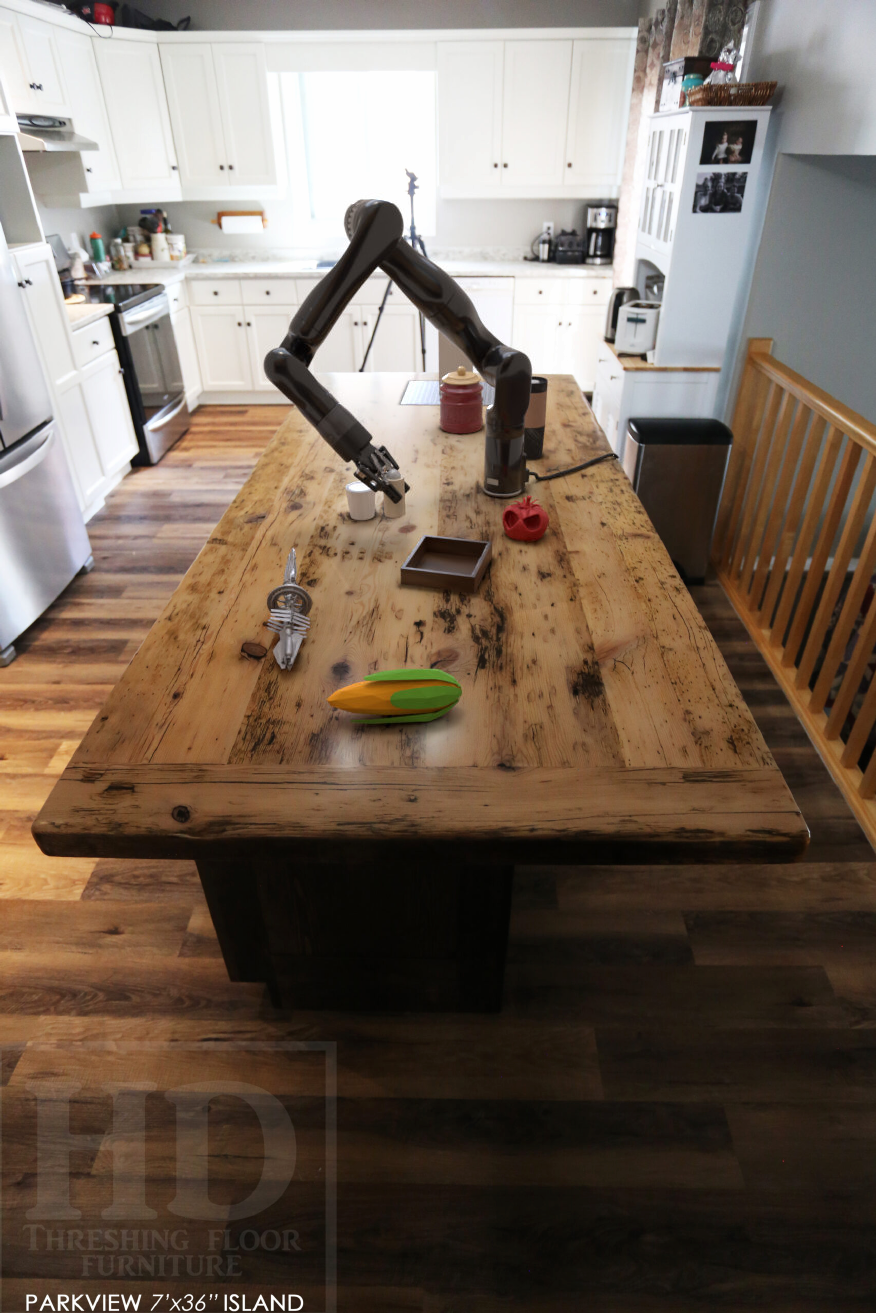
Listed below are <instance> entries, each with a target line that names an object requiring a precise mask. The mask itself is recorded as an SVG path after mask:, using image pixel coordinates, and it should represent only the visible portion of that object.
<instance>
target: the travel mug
mask: <svg viewBox="0 0 876 1313" xmlns="http://www.w3.org/2000/svg"><path fill="white" fill-rule="evenodd" d="M548 383H549V382H548V378H546V377H543V376H537V375H536V376H533V375H532V384H531V393H530V403H529V408H528V410H527V413H526V415H525V429H524V449H523V452H524V453H526V455H527V457H526V461H527V460H529V461H530V460H532V461H533V460H538V459H540V458H542V457H543V451H544V442H545V431H546V430H545V429H546V417H547V416H546V415H547V400H548Z"/></svg>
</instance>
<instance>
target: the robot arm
mask: <svg viewBox="0 0 876 1313" xmlns="http://www.w3.org/2000/svg"><path fill="white" fill-rule="evenodd" d="M404 223H405V222H404V218H403V213H402V212H401V210H400V209H399V207H398V206H397V205H396V204H395V203H394V202H392V201H390V200H389V199H386V198H380V197H374V198H373V197H365V198H360V199H357V200H355V201H353V202H352V203H350V205H349V206H348V207H347V208H346V211H345V213H344V218H343V228H344V231H345V234H346V237H347V239H348V241H349V244H348V246H347V247H346V249H345V251H344V253H343V254H342V256H341V257H340V258H339V260H337V262H336V263H335V265H334V266H333V267H332V268H331V269H330V270H329V271H328V273H326V274H325V275H324V276H323V278H321V279H320V280H319V282H317V283H316V285H315V286H313V287H312V289H311V291H310V292H309V293H308V294H307V296H305V298H304V300H303V302H302V303H301V305H300V307H298V309H297V311H296V313H295V314H294V316H293V317H292V319H291V320H290V322H289V325H288V330H287V333H286V335H285V336H284V338H283V340H282V341H281V343H280V344H279V346H278V347H275V348H272V349H270V350H269V351H268V352H267V353H266V355H265V356H264V359H263V364H262V365H263V372H264V375H265V377H266V378H267V379H268V381H269V382H270V383H271V384H272V385H273V386H274V387H275V388H276V389H278V390H279V391H280V392H281V394H283V396H285V397H286V398H287V399H288V400H289V401H290V402H291V403H292V404H293V405H294V406H295V407H296V408H297V410H298V411H299V413H300V414H301V415H302V416H303V418H305V420H306V421H307V422H308V423H309V424H310V425H311V426H312V427H313V428H314V429H315V430H316V431H317V433H318V434H319V436H321V439H323V440H324V442H325V443H326V444H328V446H329V447H330V448H331V449H332V450H333V451H334V452H335V453H336V454H337V455H338V457H340V458H341V459H342V460H343V461H344V462H345V463H346V464H349V463H350V462H351V461H352V462H353V464H354V465H355V467H356V470H355V471H354V472H353V476H354V478H356V479H357V480H358V481H361V482H362V483H364V484H365V485H366V486H367V487H369V488H370V489H371V490H372V491H374V492H375V494H376V493H378V492H382V493H383V492H384V493H385V494H386V495H387V496H388V497H389V498H390V500H391V501H392V502H393V503H394V504H397V503H398V502H399V501H400V500H401V499H402V498H403V496H402V495H401V494H400V493H399V492H398V491H397V490H396V488H395V487H394V486H393V485H392V484H390V483H389V481H388V480H387V478H386V477H385V475H386V474H387V472H388V471H389V470H391V469H395V470H398V471H399V470H400V466H399V464H398V463H397V461H396V460H395V458H394V457H393V456H392V455H391V453H390V451H389V450H388V449H387V447H386V446H385V445H381V446H380V447H379V448H377V446H374V445H373V444H372V443H371V441H372V440H373V435H372V433H371V432H370V431H369V430H368V429H366V427H364V425H363V424H362V423H361V422H360V421H359V420H358V419H357V418H356V417H355V416H354V414H353V413H352V412H351V411H350V410H349V409H348V408H346V407H345V406H344V405H343V404H341V402H340V401H339V400H338V399H337V398H336V397H335V396H334V395H333V394H332V393H331V391H329V390H328V389H327V388H326V387H325V386H324V385H323V384H322V383H320V381H318V379H317V377H315V375H314V374H313V373H312V372H311V371H310V370H309V367H310V366H311V363H312V362H313V359H314V358H315V355H316V353H317V352H318V350H319V348H320V347H321V346H322V345H323V343H324V342H325V341H326V339H327V337H328V336H329V335H330V333H331V332H332V330H333V328H334V327H335V325H336V323H337V322H338V321H339V319H340V317H341V316H342V314H343V313H344V311H345V310H346V309H347V307H348V306H349V304H350V303H351V301H352V300H353V298H354V297H355V296H356V295H357V293H358V292H359V290H360V289H361V288H362V286H363V285H364V284H365V283H366V282H367V281H368V280H369V278H370V277H371V275H372V274H373V273H374V272H375V271H376V270H377V269H378V268H379V269H380V270H381V271H382V272H383V273H384V274H386V276H388V277H389V278H390V279H391V281H392V282H393V283H394V284H395V285H396V286H397V287H398V289H399V290H400V291H401V293H403V295H404V296H405V297H406V299H408V300H409V301H410V303H412V305H413V306H414V307H415V309H417V310H418V311H419V312H420V313H421V314H422V316H423V317H424V318H425V319H426V320H427V321H428V322H429V324H431V326H433V327H434V328H435V329H436V330H437V331H439V332H440V333H442V334H443V335H444V336H445V337H446V338H447V339H448V340H449V341H450V342H451V343H453V344H454V345H455V346H456V347H457V348H459V349H460V350H461V351H462V352H463V353H464V354H465V356H466V357H467V358H468V359H469V361H470V362H471V363H472V364H473V368H474V369H475V370H476V371H477V373H478V374H479V375H480V376H481V379H483V380H484V382H487V383H488V384H489V385H490V386H492V387H494V388H495V396H494V404H493V405H488V406H487V408H486V409H485V416H484V418H485V420H484V421H485V423H484V467H483V487H482V488H483V489H482V490H483V493H484V494H486V495H487V496H490V497H493V498H501V499H502V498H503V499H504V498H512V497H516V496H518V495H520V494H522V493H525V491H526V484H527V483H529V482H530V476H533V477H534V478H535V480H536V481H546V480H551V479H554V478H557V477H560V476H563V475H567V474H570V473H574V472H576V471H579V470H581V469H584V468H586V467H588V466H590V465H592V464H594V463H596V462H599V461H602V460H605V459H607V458H611V457H612V458H614V459H620V456H619V455H618V454H616V453H615V452H609V453H606V454H604V455H601V456H598V457H595V458H593V459H590V460H588V461H586V462H584V463H582V464H579V465H577V466H573V467H572V468H568V469H565V470H561V471H557V472H555V473H552V474H549V475H546V476H539V474H538V472H535V471H530V469H529V468H528V467H527V460H526V457H527V455H526V453H524V452H523V449H524V429H525V415H526V413H527V410H528V408H529V403H530V393H531V384H532V376H533V366H532V363H531V359H530V357H529V356H528V355H527V354H526V353H525V352H523V351H521V350H518V349H516V348H513V347H511V346H508V345H507V344H506V343H505V344H504V342H503V341H501V340H500V339H498V338H497V337H496V336H495V335H494V334H493V333H492V332H491V331H490V330H489V329H488V328H487V327H486V326H485V325H484V322H483V321H482V319H481V316H480V315H479V313H478V311H477V309H476V307H475V304H474V302H473V301H472V299H471V298H470V296H469V295H468V294H467V293H466V291H465V290H464V289H463V288H462V286H460V285H459V284H458V283H457V281H456V280H455V279H454V278H453V277H452V276H451V275H450V274H449V273H448V272H447V271H445V270H444V269H443V268H442V267H441V266H439V265H437V264H436V263H435V262H433V261H432V260H430V259H429V258H427V257H426V256H425V255H423V254H422V253H420V252H419V251H418V250H417V249H416V248H414V247H413V246H412V245H411V244H410V243H409V242H408V241H407V240H406V239H405V237H404V236H403V234H404V229H405V228H404V227H405V226H404V225H405V224H404ZM613 455H614V456H613ZM372 483H373V484H375V486H374V485H373V484H372ZM389 484H390V485H389ZM410 490H411V486H410V485H409V484H408V483H407V482H406V481H405V495H406V494H407V492H409V491H410Z"/></svg>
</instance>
